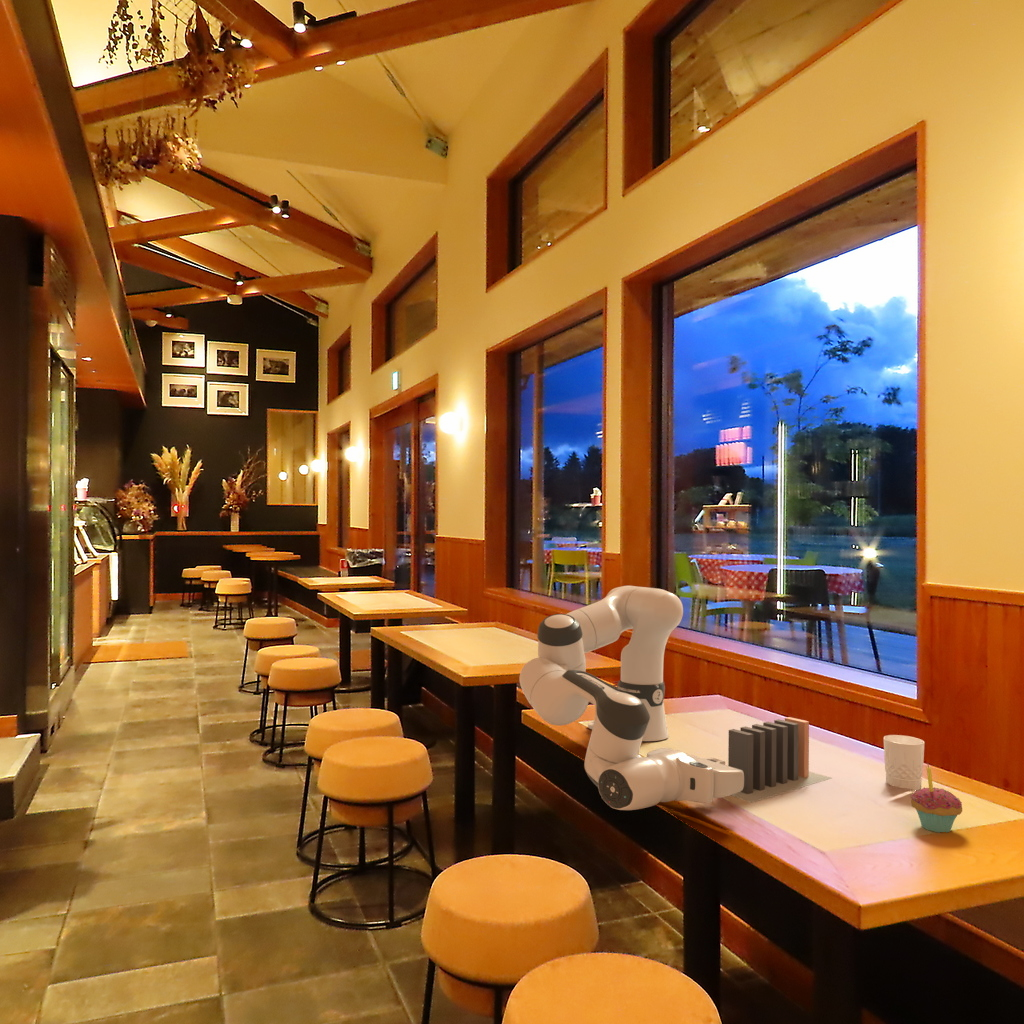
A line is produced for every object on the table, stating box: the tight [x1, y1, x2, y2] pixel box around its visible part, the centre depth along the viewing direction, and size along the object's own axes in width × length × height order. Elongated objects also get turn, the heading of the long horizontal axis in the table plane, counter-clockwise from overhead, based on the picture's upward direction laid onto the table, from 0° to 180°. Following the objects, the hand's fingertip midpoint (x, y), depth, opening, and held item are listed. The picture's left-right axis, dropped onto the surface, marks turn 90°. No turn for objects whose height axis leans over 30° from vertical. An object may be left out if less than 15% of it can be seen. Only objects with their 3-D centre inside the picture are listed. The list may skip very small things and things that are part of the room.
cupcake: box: [910, 763, 963, 833], centre depth 150 cm, size 9×8×12 cm
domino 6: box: [784, 716, 810, 778], centre depth 180 cm, size 5×2×12 cm, turn 37°
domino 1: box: [727, 728, 753, 794], centre depth 168 cm, size 5×2×12 cm, turn 37°
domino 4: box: [762, 721, 788, 784], centre depth 175 cm, size 5×2×12 cm, turn 37°
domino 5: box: [773, 718, 798, 781], centre depth 177 cm, size 5×2×12 cm, turn 37°
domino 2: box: [739, 726, 765, 791], centre depth 170 cm, size 5×2×12 cm, turn 37°
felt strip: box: [730, 771, 832, 803], centre depth 174 cm, size 12×28×1 cm, turn 127°
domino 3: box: [751, 723, 777, 787], centre depth 173 cm, size 5×2×12 cm, turn 37°
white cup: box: [883, 734, 925, 792], centre depth 174 cm, size 8×8×10 cm
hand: (719, 763), depth 163 cm, fingers closed
